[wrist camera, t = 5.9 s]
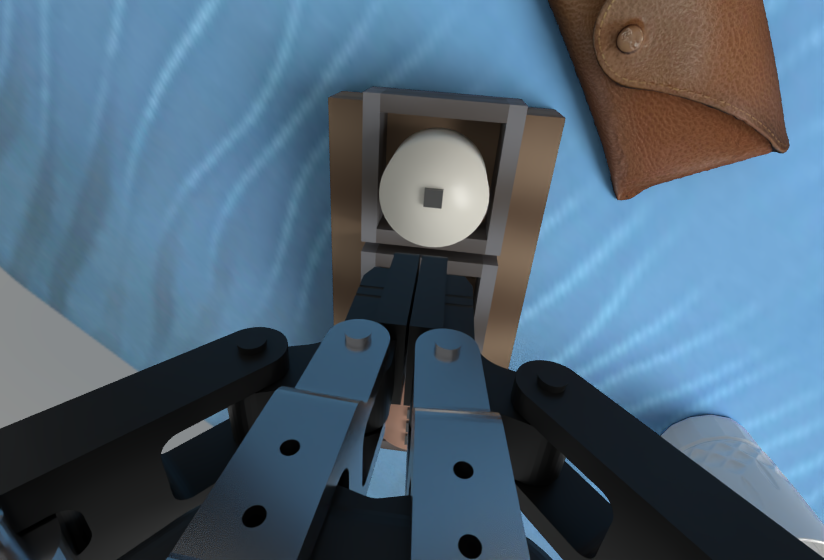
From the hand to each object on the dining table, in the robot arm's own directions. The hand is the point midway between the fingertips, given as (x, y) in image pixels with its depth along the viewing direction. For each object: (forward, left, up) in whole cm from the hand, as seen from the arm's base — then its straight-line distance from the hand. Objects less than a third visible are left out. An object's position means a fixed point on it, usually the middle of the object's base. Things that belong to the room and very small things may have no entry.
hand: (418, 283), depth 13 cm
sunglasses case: (-8, +9, -16) cm, 20 cm away
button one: (0, 0, -10) cm, 10 cm away
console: (+8, 0, -16) cm, 18 cm away
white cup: (+21, +23, -16) cm, 35 cm away
